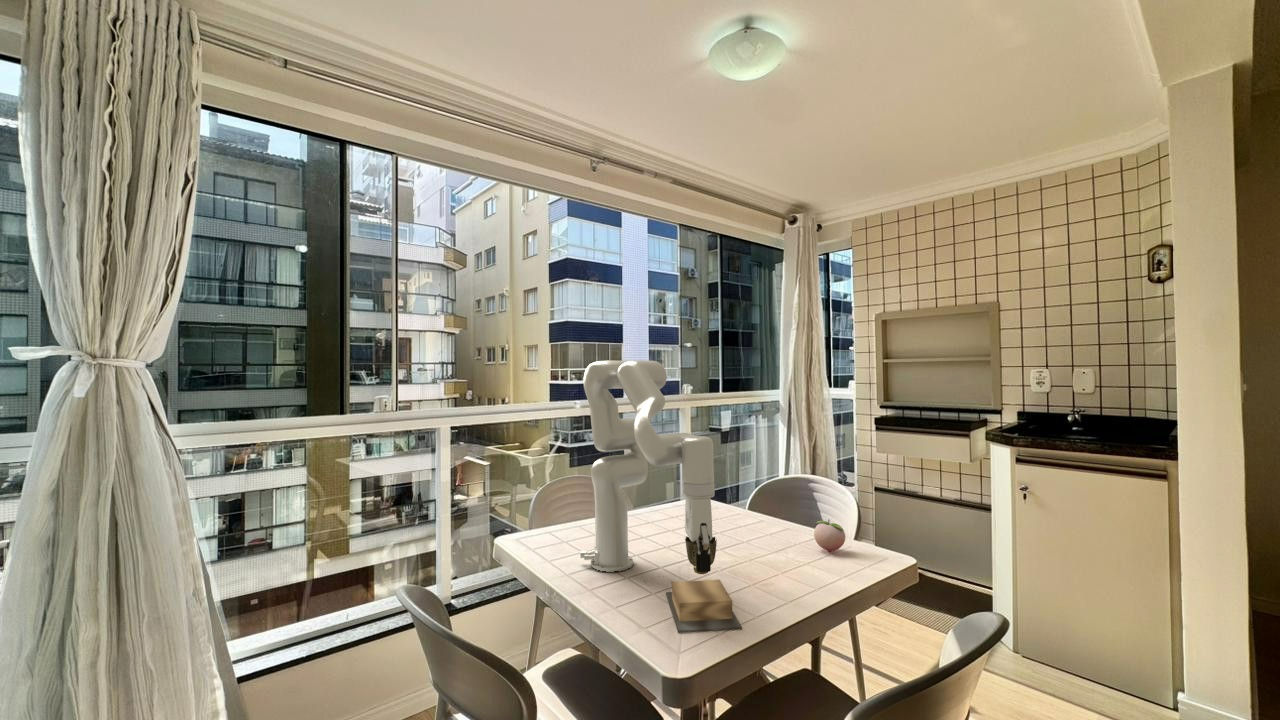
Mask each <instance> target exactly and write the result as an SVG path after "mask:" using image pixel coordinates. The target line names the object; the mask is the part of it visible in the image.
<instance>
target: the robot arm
mask: <svg viewBox="0 0 1280 720" xmlns="http://www.w3.org/2000/svg"><path fill="white" fill-rule="evenodd" d="M583 374H584V375H583V390H584V393H585V396H586V398H587V402H588V405H589V415H590V422H591V423H590V425H591V433H592V435H591V436H592V440H593V441H592V442H593V445H594V447H595V449H596V450H597V451H599V452H603V453H606V452H617V451H618V452H619V451H623V452H624V454H617V455H608V456H603V457H600V458H598V459H597V460H595V461H594V462H593V464H592V466H591V470H590V475H591V482H592V486H593V487H592V488H593V491H594V492H593V493H594V515H595V516H594V518H595V519H594V520H595V525H594V528H595V535H594V536H595V546H594V549H591V550H588V551H587V550H581V551H580V559H583V561H590V567H591V566H592V567H593V568H595V569H597V570H596V571H598V570H600V571H599V572H602V571H606V572H605V573H615V572H614V571H619V572H622V571H621V570H623V571H626V570H629V569H630V568H632V567H633V565H634V558H633V557H631V556H630V555H629V531H628V530H629V526H628V520H629V519H628V502H627V500H626V498H625V497H626V496H625V495H624V494H623V493H622V491H621V488H623V489H624V488H626V487H633V486H638V485H641V484H643V483H644V482H645V481H646V479H647V477H648V473H649V470H648V468H649V467H648V463H649V464H650V465H652V466H654V467H664V466H666V467H667V466H672V465H673V466H674V465H680V464H681V472H682V473H681V476H682V478H681V479H682V484H681V485H682V496H683V497H684V498H685V504H684V505H685V509H684V511H685V512H684V513H685V514H684V515H685V516H684V530H685V534H686V536H687V537H689V539H690V540H691V541H692V542H694V541H696V544H697V554H696V570H697V572H708V573H710V572H711V570H712V569H711V566H712V565H711V563H710V547H709V541H711V540H712V537H713V520H712V519H713V518H712V517H713V516H712V515H713V514H712V499H711V498H713V497H715V461H714V457H715V456H714V441H713V439H712V438H711V437H709V436H705V435H694V434H691V433H688V432H677V433H676V432H675V433H667V434H658V433H657V431H656V430H655V429H654V427H653V425H652V423H651V419H652V418H654V417H655V416H657V415H659V413H660V412H661V411H662V410H663V409H664V408H665V405H666V398H665V396H664V394H663V393H662V392H661V389H662V388H664V386H665V385H666V383H667V381H668V379H667V377H668V376H667V375H668V374H667V371H666V369H665V367H664V366H663V364H661V363H660V362H658V361H656V360H617V359H616V360H613V359H609V360H607V359H606V360H597V361H594V362H592V363H589V365H588V366H587V367H586V369H585V371H584V373H583ZM612 389H613V390H616V389H617V390H619V389H621V390H623V392H624V394H625V395H626V397H627V398H628V400H629V403H630V404H631V406H632V407H633V410H635V413H636V414H635V418H632V417H628V418H626V417H624V418H621V417H620V413H619V405H618V402H617V400H616V398H615V397H614V396H613V394H612V393H611V392H610V391H609V390H612ZM698 538H700V540H698ZM701 539H702V540H701ZM700 543H702V545H701V546H700ZM592 567H591V568H592ZM593 568H592V569H593ZM628 568H629V569H628ZM595 569H594V570H595ZM625 569H626V570H625Z"/></svg>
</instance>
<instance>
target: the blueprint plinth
mask: <svg viewBox="0 0 1280 720" xmlns="http://www.w3.org/2000/svg"><path fill="white" fill-rule="evenodd" d="M665 595H666V599H667V601H668V602H667V603H668V605H669V608H670V611H671V616H672V618H673V621H674V623H675V627H676V630H677V633H678V634H685V633H700V632H717V631H718V632H719V631H720V632H721V631H732V630H733V631H737V630H743V627H742V624H741V623H740V621H739V619H738V617H737V616H736V614H735V612H734V610H733V599H732V597H731V595H729V592H728V591H727V589H726V587H725V585H724V584H723V583H722V581H721V579H704V580H703V579H702V580H701V579H700V580H685V581H684V580H683V581H671V591H665Z"/></svg>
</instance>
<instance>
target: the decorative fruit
mask: <svg viewBox="0 0 1280 720" xmlns="http://www.w3.org/2000/svg"><path fill="white" fill-rule="evenodd" d="M815 525H816V526H815V528H814V530H813V536H814V540H815V542H816V543H817V545H818V546H819V547H820V548H821V549H824V550H825V551H827V552H829V553H831V552H836V551H838V550H840V549H841V548H842V546H844V544H845V542H846V533H845V530H844V529H843V527H842V526H841V525H840V524H839V523H838V524H837V523H830V519H828V521H826V520H819V521H817V522H815Z"/></svg>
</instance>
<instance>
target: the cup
mask: <svg viewBox="0 0 1280 720" xmlns="http://www.w3.org/2000/svg"><path fill="white" fill-rule="evenodd" d="M684 540H685V548H686V555H687V560H688V562H689V563H690V564H691V566H693V571H694V573H695V574H697V575H706V574H708V573H709V572H697V570H696V554H697V544H696V541H694V542H692V541H691V540H690V539H689V537H688V536H687V535H686V536H685V538H684ZM698 540H700V538H698ZM701 540H702V539H701ZM717 541H718V539H717V538H716V536H712V540H711V541H709V547H710V563H711V566H712V565H713V564H714V562H715V560H716V553H717V544H718V542H717ZM701 545H702V543H700V546H701Z"/></svg>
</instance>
